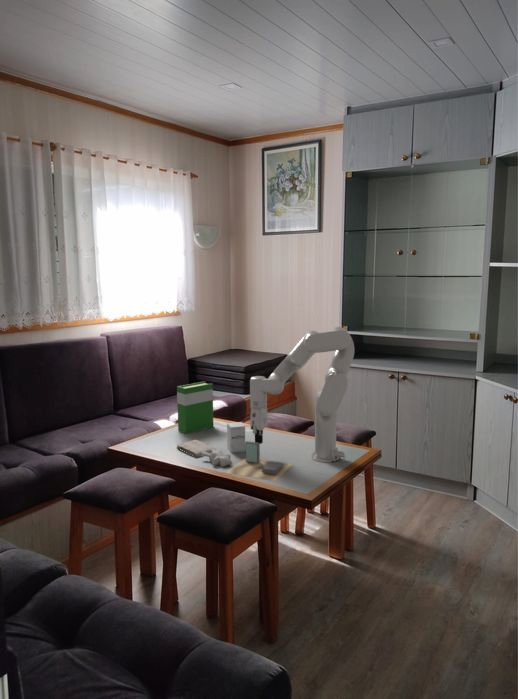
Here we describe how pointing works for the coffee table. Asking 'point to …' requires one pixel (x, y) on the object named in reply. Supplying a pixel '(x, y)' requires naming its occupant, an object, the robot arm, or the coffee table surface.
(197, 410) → the hardback book
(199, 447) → the grey tracked toy vehicle
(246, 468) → the oak board
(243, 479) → the coffee table surface
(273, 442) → the coffee table surface
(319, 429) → the robot arm
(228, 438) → the supplement box
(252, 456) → the tile far
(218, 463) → the bunny figurine
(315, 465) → the coffee table surface
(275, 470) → the tile near
